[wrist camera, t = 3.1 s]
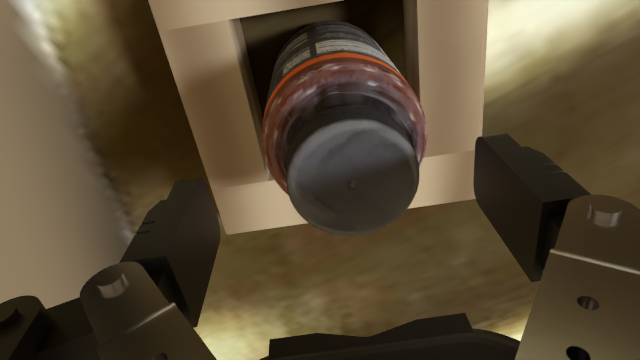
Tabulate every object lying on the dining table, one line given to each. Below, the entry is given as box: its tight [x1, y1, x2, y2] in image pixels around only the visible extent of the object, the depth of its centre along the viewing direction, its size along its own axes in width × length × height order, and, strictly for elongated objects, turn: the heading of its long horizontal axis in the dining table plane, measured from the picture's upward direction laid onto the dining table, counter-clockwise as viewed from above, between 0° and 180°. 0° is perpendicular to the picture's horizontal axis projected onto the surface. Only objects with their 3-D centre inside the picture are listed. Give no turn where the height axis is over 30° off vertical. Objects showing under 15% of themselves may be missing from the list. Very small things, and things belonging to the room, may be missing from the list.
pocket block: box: [148, 0, 488, 235], centre depth 21 cm, size 14×14×3 cm
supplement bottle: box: [262, 21, 427, 236], centre depth 17 cm, size 6×6×11 cm
